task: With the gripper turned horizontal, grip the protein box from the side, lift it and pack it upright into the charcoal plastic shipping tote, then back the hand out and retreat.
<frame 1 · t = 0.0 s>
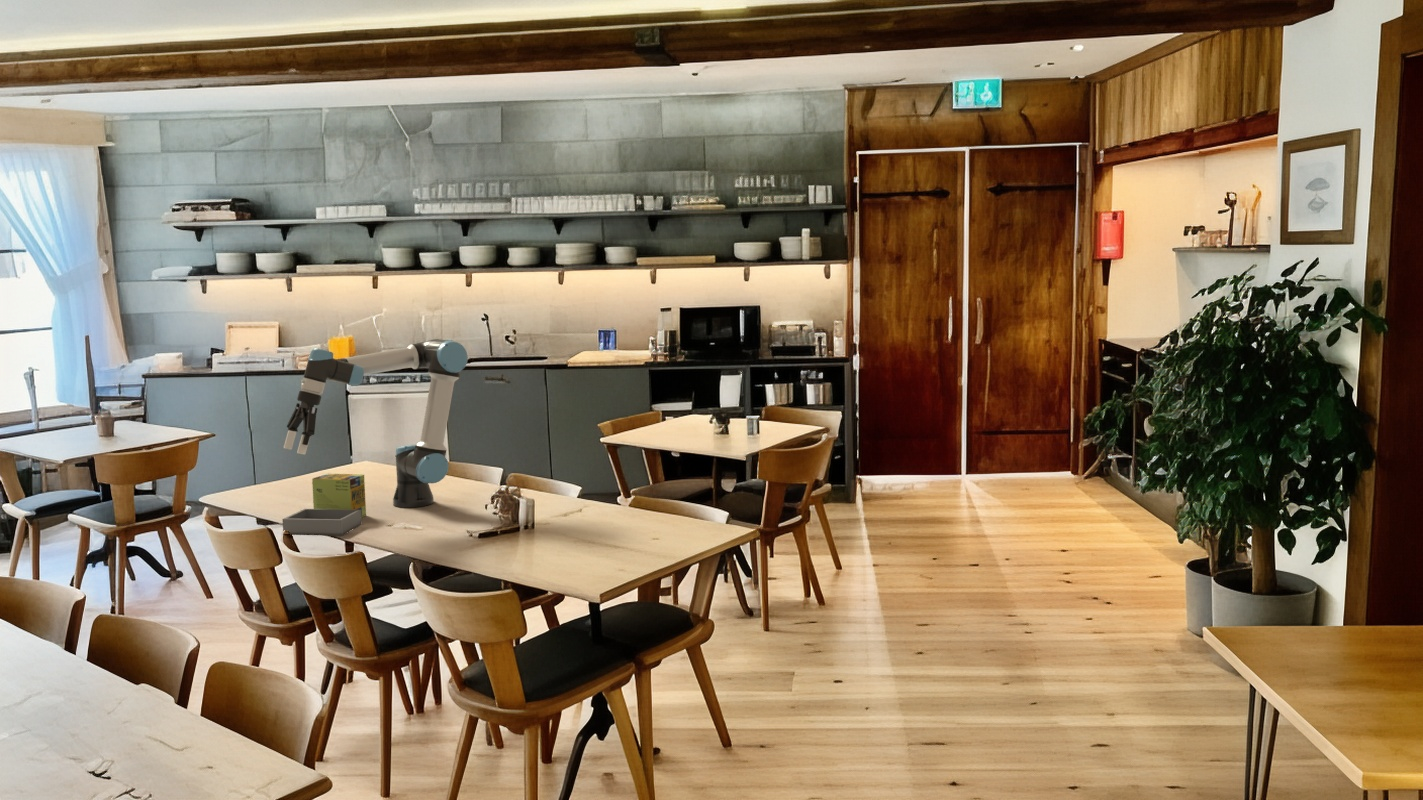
hand: (294, 451, 373), 28 cm above the table, tool tilted 20°, fingers open, 13 cm apart
shipping tote: (323, 529, 377), on the table
protein box: (340, 518, 395), on the table
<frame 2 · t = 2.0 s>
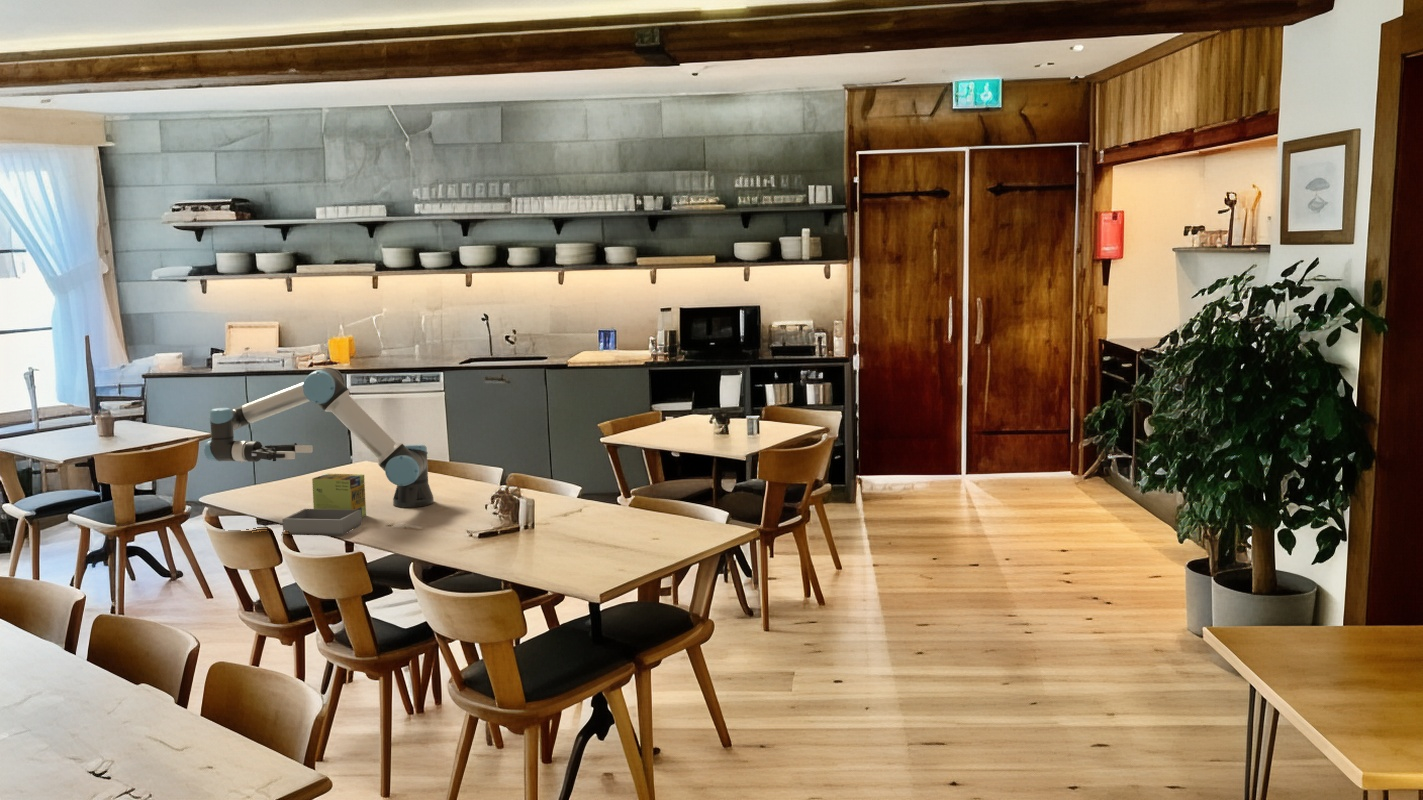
hand: (303, 452, 393), 24 cm above the table, tool horizontal, fingers open, 13 cm apart
nothing on the table moved.
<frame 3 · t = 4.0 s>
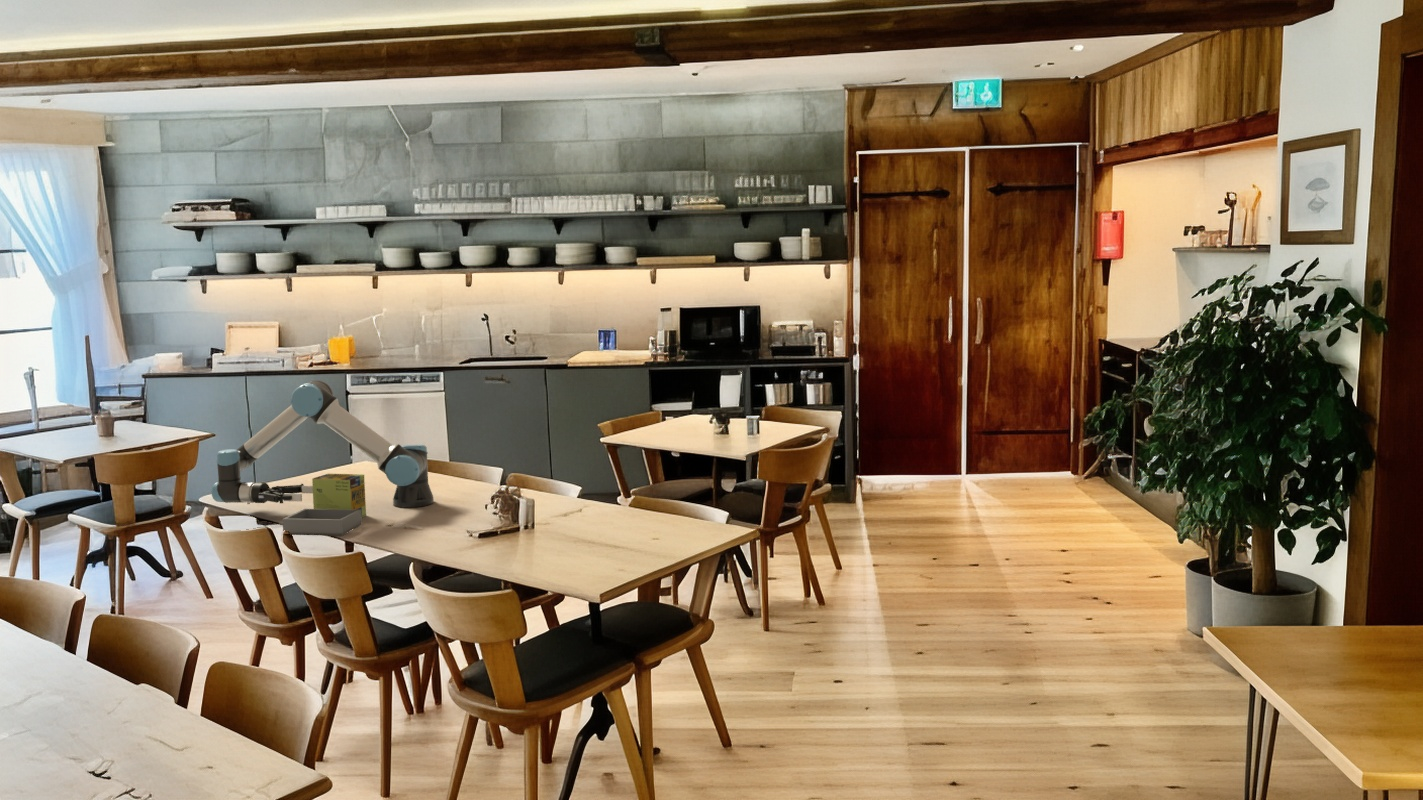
hand: (310, 493, 395), 9 cm above the table, tool horizontal, fingers open, 13 cm apart
nothing on the table moved.
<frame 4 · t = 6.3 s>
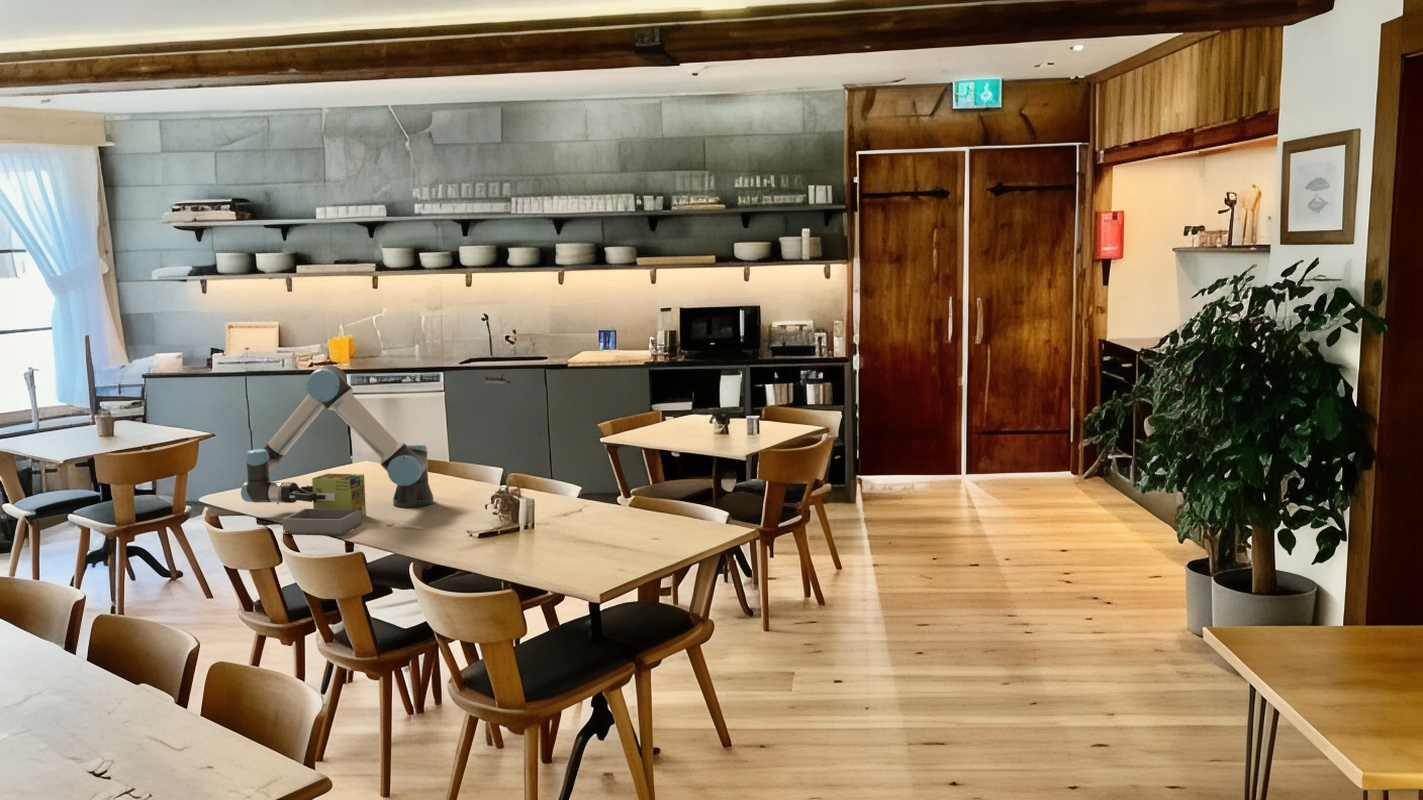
hand: (341, 493, 394), 9 cm above the table, tool horizontal, fingers closed on protein box, 11 cm apart
protein box: (340, 518, 395), on the table, touching gripper
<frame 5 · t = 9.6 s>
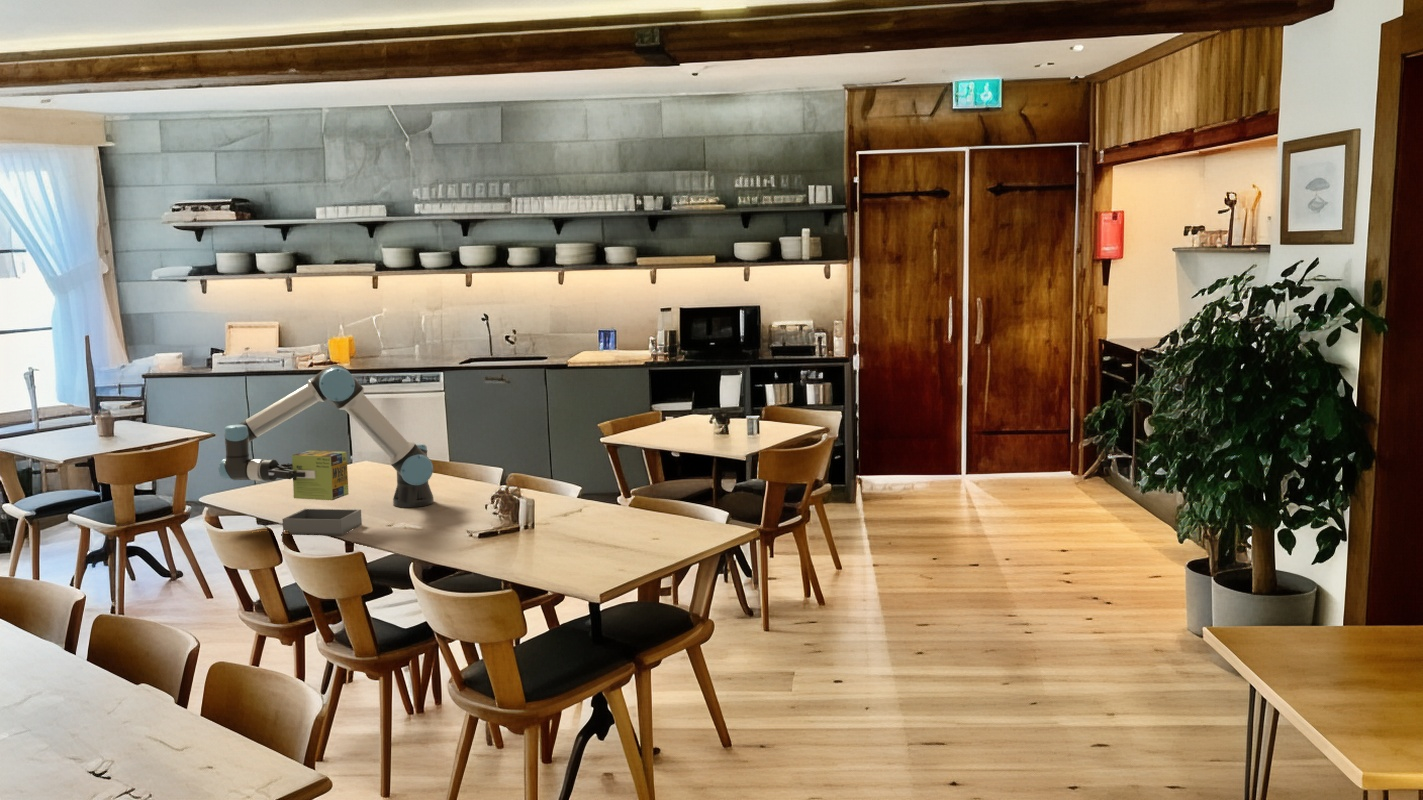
hand: (323, 471, 377), 20 cm above the table, tool horizontal, fingers closed on protein box, 11 cm apart
protein box: (321, 497, 378), point 11 cm above the table, touching gripper
when the fingers open (11 cm above the table, at t = 12.7 s): protein box drops 1 cm, resting on shipping tote.
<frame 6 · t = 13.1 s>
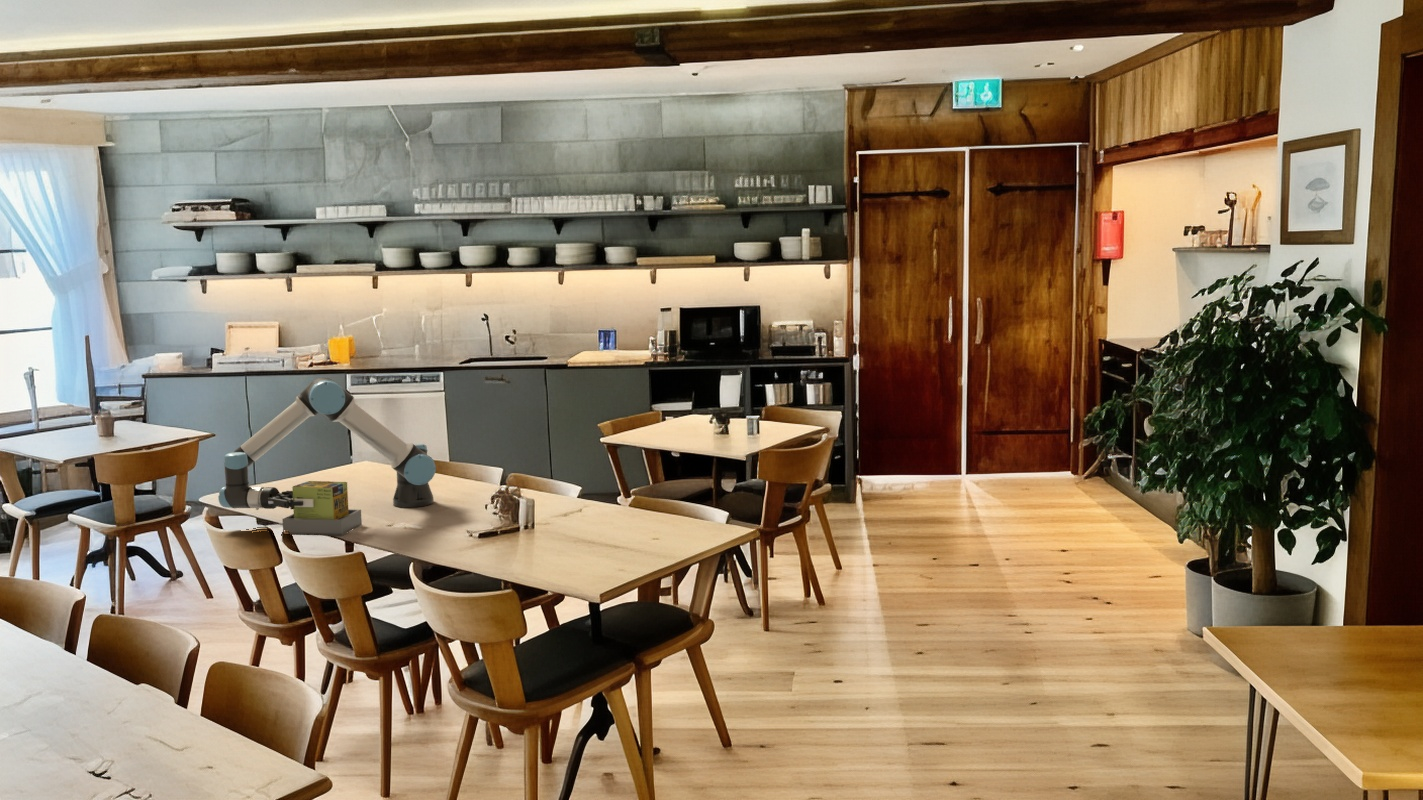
hand: (322, 498, 376), 11 cm above the table, tool horizontal, fingers open, 13 cm apart
protein box: (322, 528, 377), point 1 cm above the table, touching shipping tote
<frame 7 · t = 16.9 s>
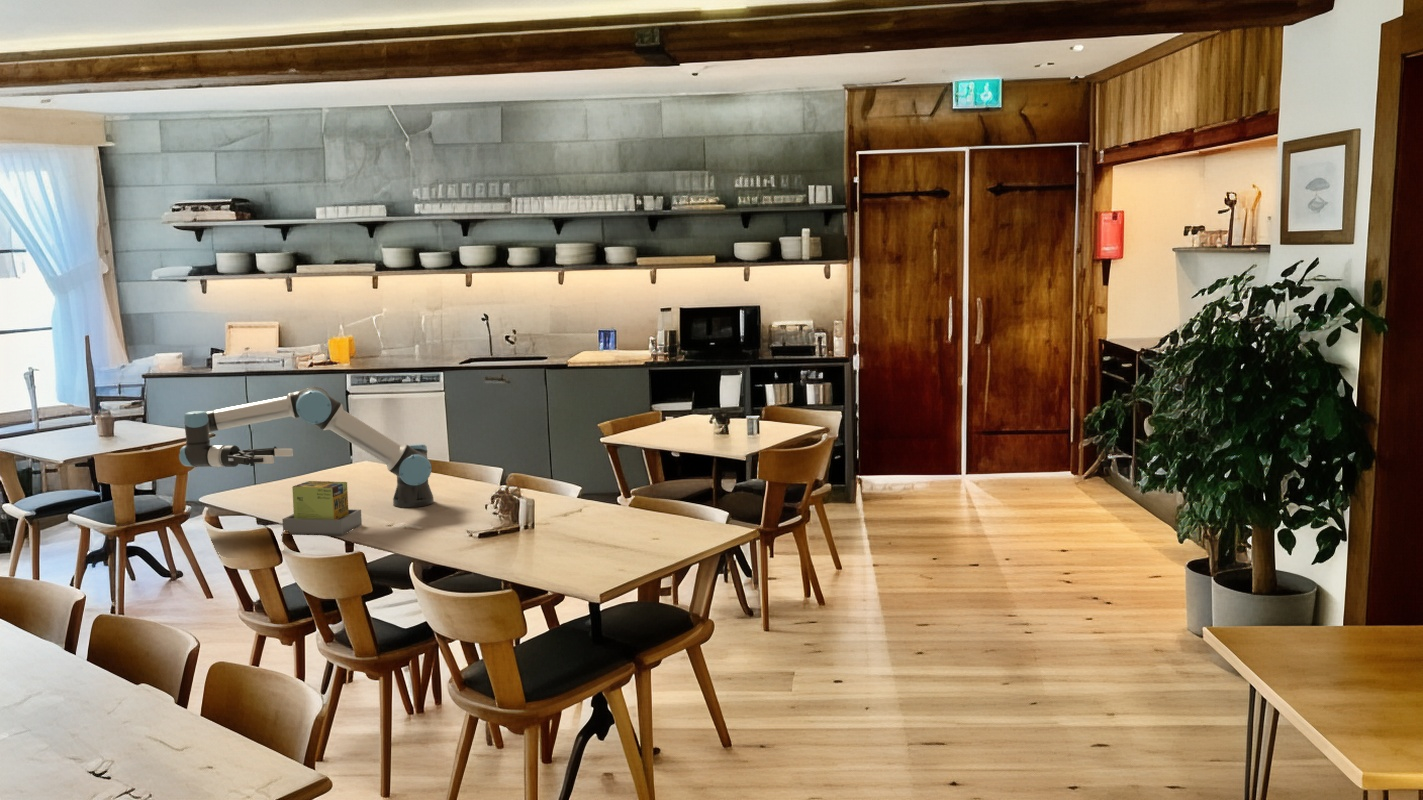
hand: (283, 456, 375), 26 cm above the table, tool horizontal, fingers open, 13 cm apart
nothing on the table moved.
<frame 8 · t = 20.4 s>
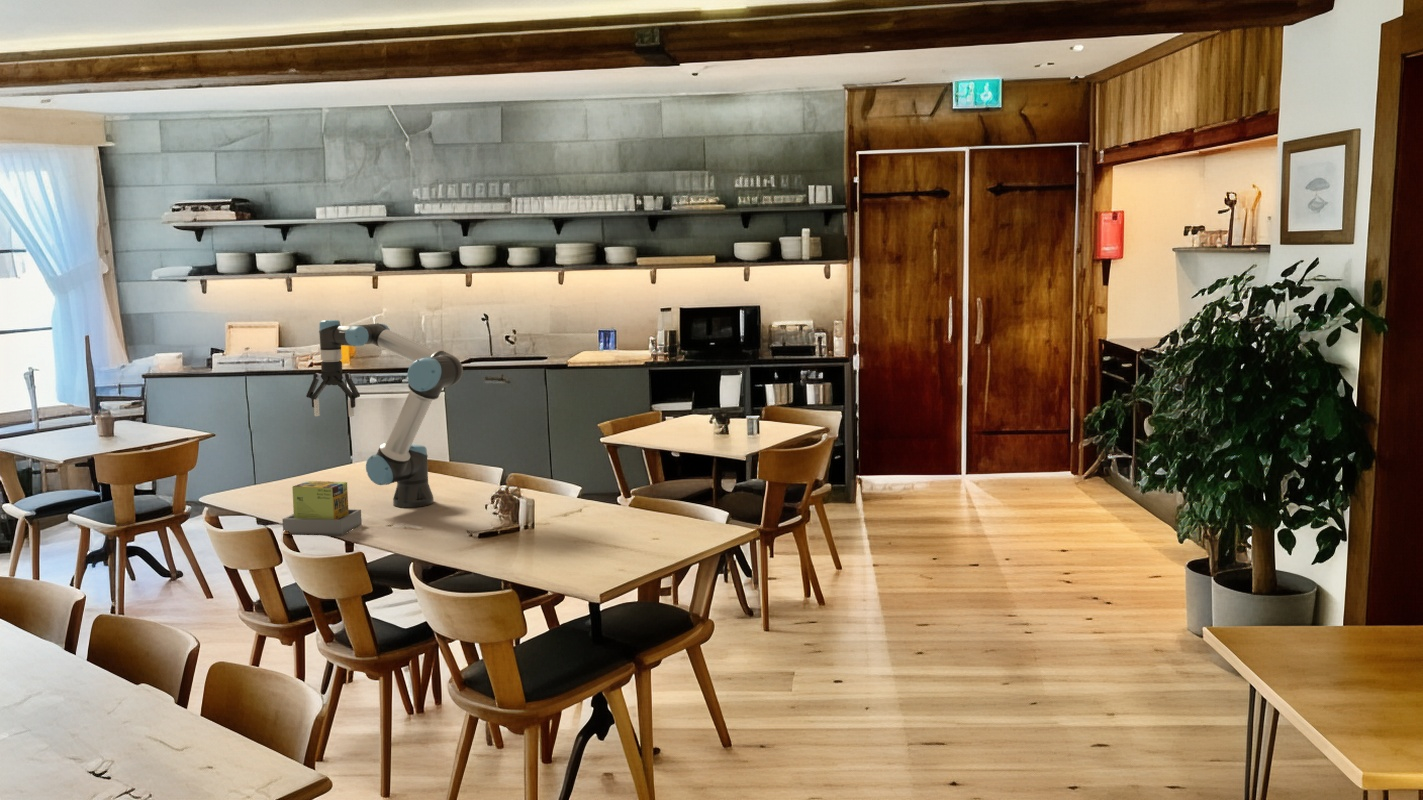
hand: (334, 416, 411), 35 cm above the table, tool pointing down, fingers open, 13 cm apart
nothing on the table moved.
at the end: protein box inside the target area on the shipping tote (0.2 cm from its centre), point 0.6 cm above the shipping tote's base; protein box tilted 0°; the gripper is holding nothing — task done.
